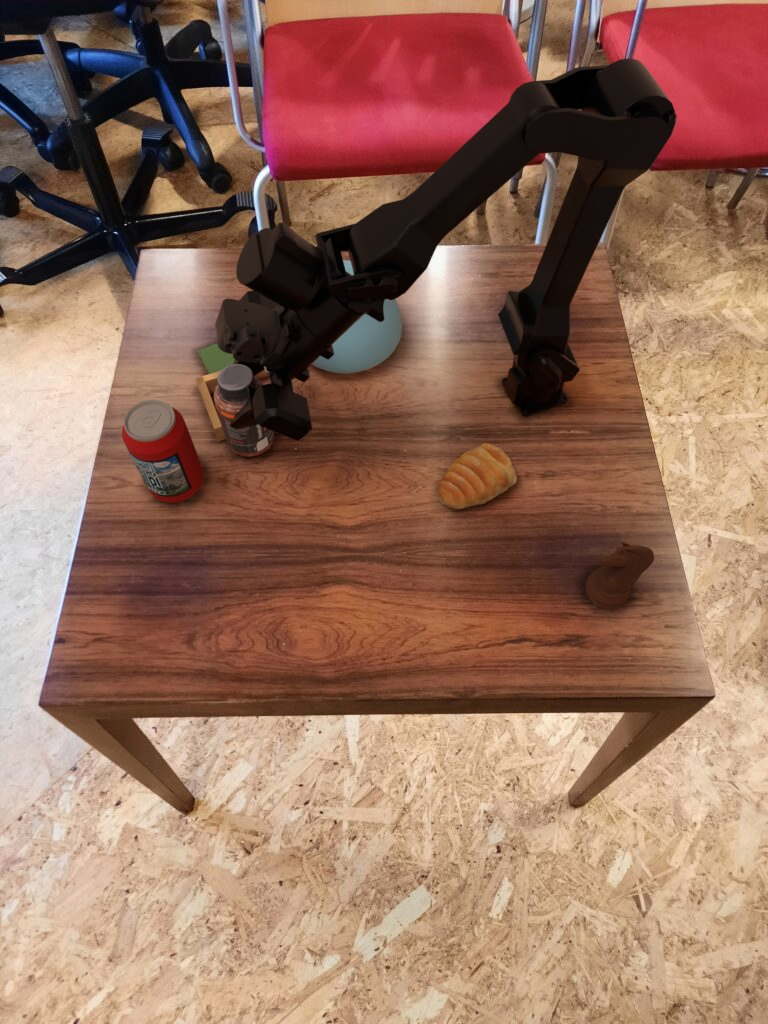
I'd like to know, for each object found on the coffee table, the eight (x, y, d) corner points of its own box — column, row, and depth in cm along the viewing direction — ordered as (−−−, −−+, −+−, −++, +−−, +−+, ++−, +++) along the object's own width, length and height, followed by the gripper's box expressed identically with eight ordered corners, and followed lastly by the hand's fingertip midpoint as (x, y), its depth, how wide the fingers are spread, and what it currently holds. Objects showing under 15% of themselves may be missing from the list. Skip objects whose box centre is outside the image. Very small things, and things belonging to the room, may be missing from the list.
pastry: (461, 526, 84) (464, 508, 81) (423, 488, 87) (424, 469, 84) (520, 484, 87) (525, 465, 84) (481, 448, 90) (485, 429, 87)
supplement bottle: (279, 453, 90) (266, 391, 80) (231, 463, 89) (211, 402, 79) (270, 416, 93) (256, 352, 83) (223, 426, 92) (204, 363, 82)
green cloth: (252, 331, 100) (252, 329, 100) (270, 360, 98) (269, 358, 97) (197, 352, 99) (196, 350, 98) (213, 382, 96) (213, 380, 96)
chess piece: (582, 571, 81) (605, 526, 73) (628, 572, 81) (657, 527, 73) (587, 609, 79) (612, 567, 70) (635, 610, 79) (665, 568, 70)
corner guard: (271, 369, 97) (269, 356, 95) (293, 417, 93) (291, 404, 91) (199, 391, 95) (195, 378, 93) (218, 441, 91) (214, 429, 89)
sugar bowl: (311, 292, 104) (303, 222, 95) (413, 312, 102) (416, 243, 92) (275, 368, 97) (262, 301, 87) (384, 391, 95) (384, 325, 85)
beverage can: (137, 495, 87) (103, 433, 76) (167, 452, 90) (138, 387, 80) (187, 513, 85) (160, 452, 75) (215, 469, 89) (193, 405, 78)
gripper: (244, 225, 76) (164, 320, 85) (265, 355, 67) (172, 448, 75) (324, 275, 84) (243, 358, 92) (353, 398, 74) (261, 478, 82)
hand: (230, 406), depth 85 cm, fingers closed on supplement bottle, 6 cm apart
